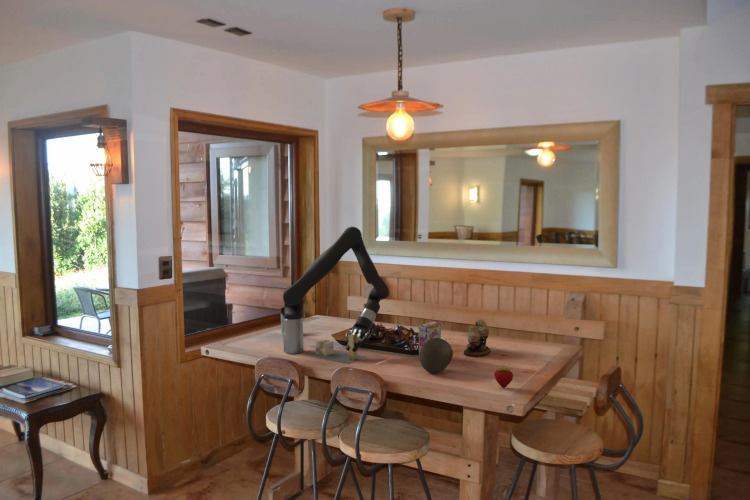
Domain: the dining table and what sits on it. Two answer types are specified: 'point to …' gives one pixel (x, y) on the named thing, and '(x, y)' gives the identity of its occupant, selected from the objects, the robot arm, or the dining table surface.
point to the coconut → (435, 355)
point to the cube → (324, 347)
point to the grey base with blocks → (342, 353)
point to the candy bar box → (428, 332)
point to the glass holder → (283, 321)
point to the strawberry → (503, 376)
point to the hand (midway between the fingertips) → (350, 350)
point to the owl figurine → (477, 340)
